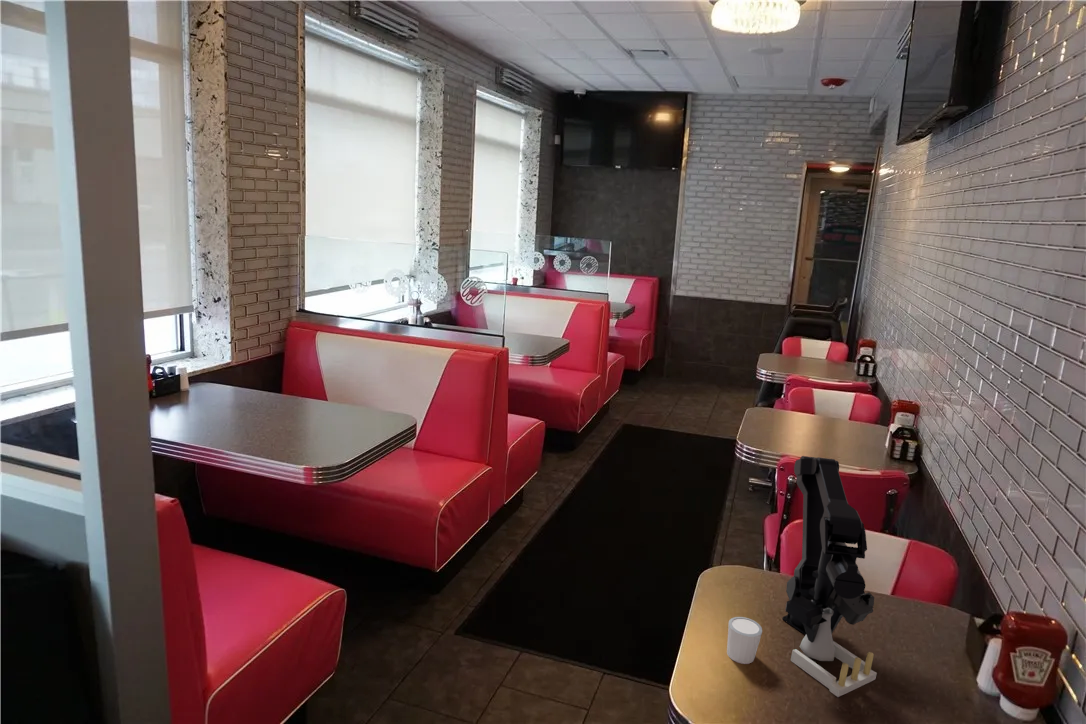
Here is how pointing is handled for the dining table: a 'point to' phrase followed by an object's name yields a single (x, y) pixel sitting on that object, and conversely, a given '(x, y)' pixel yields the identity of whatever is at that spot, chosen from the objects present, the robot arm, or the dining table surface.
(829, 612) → the flask
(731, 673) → the dining table surface
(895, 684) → the dining table surface
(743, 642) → the white cup
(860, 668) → the wall peg rack
